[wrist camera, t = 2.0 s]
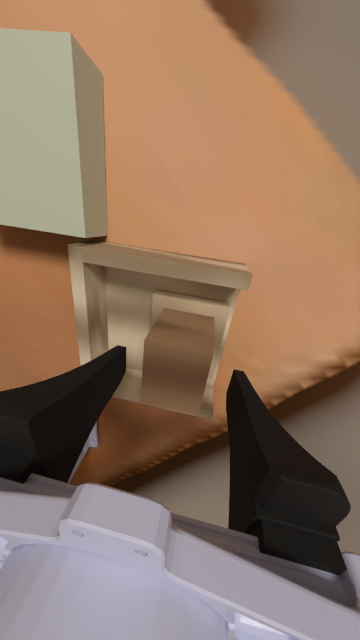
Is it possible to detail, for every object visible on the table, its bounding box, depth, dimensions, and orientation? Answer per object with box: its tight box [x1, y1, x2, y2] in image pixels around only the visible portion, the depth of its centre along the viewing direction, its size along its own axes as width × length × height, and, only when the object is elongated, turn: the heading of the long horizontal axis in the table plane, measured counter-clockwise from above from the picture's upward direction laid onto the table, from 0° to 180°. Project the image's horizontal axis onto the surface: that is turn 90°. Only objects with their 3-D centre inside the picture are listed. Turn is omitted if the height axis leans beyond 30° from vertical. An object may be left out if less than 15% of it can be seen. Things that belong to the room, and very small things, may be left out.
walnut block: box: [141, 308, 215, 415], centre depth 15 cm, size 5×4×5 cm
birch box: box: [67, 240, 252, 420], centre depth 17 cm, size 13×12×4 cm
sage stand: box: [0, 28, 107, 238], centre depth 13 cm, size 9×9×3 cm
